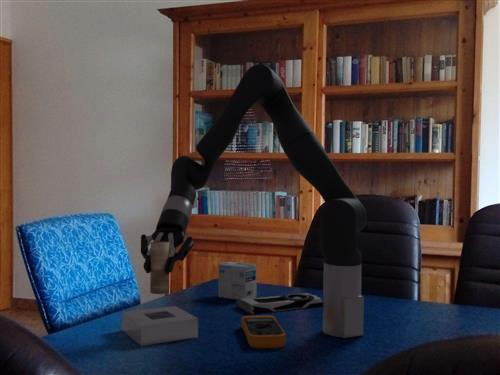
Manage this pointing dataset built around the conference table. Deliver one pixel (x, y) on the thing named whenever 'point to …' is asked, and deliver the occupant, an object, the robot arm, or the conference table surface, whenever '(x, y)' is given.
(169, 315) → the grey square socket block
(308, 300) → the graphics card
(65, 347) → the conference table surface
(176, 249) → the robot arm
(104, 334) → the conference table surface
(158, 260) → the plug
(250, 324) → the multimeter
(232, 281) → the light bulb box
